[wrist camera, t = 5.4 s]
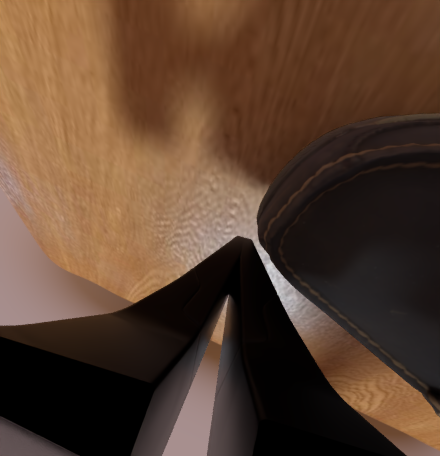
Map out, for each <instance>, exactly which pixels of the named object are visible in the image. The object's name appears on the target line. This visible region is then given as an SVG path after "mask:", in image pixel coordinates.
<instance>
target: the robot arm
mask: <svg viewBox="0 0 440 456" xmlns="http://www.w3.org/2000/svg"><path fill="white" fill-rule="evenodd" d="M228 295H229V297H228ZM227 298H228V305H227V312H226V319H225V327H224V334H223V341H222V350H221V356H220V364H219V371H218V378H217V386H216V393H215V401H214V407H213V415H212V422H211V430H210V437H209V444H208V452H207V456H406V455H405V454H404V453H403V452H402V451H401V450H399V449H398V448H397V447H396V446H395V445H394V444H393V443H392V442H390V441H389V440H388V439H387V438H386V437H385V436H384V435H382V434H381V433H380V432H379V431H378V430H377V429H376V428H374V427H373V426H372V425H371V424H370V423H369V422H368V421H367V420H365V419H364V418H363V417H362V416H361V415H360V414H359V413H358V412H356V411H355V410H354V409H353V408H352V407H351V406H350V405H348V404H347V403H346V402H345V401H344V400H343V399H342V398H341V397H340V396H339V394H338V393H337V392H336V391H335V390H334V388H333V387H332V386H331V385H330V383H329V382H328V380H327V379H326V378H325V376H324V375H323V373H322V371H321V370H320V368H319V367H318V365H317V363H316V362H315V360H314V358H313V357H312V355H311V353H310V352H309V350H308V348H307V347H306V345H305V343H304V342H303V340H302V338H301V337H300V335H299V334H298V332H297V330H296V328H295V327H294V325H293V323H292V321H291V320H290V318H289V316H288V314H287V312H286V310H285V308H284V307H283V305H282V303H281V300H280V298H279V296H278V295H277V292H276V290H275V288H274V286H273V284H272V282H271V279H270V277H269V275H268V273H267V271H266V269H265V267H264V265H263V262H262V260H261V258H260V256H259V254H258V252H257V250H256V248H255V246H254V243H253V241H252V240H251V239H248V238H244V237H240V236H236V237H235V238H234V239H232V240H231V241H230V242H228V243H227V244H225V245H224V246H223V247H221V248H220V249H219V250H217V251H216V252H214V253H213V254H212V255H210V256H209V257H208V258H206V259H205V260H204V261H202V262H201V263H199V264H198V265H197V266H195V267H194V268H192V269H191V270H190V271H188V272H187V273H186V274H184V275H183V276H181V277H180V278H178V279H177V280H175V281H173V282H172V283H170V284H168V285H167V286H165V287H163V288H161V289H160V290H158V291H156V292H154V293H152V294H151V295H149V296H147V297H145V298H144V299H142V300H140V301H138V302H136V303H135V304H133V305H131V306H129V307H127V308H124V309H122V310H119V311H116V312H113V313H109V314H103V315H94V316H87V317H80V318H72V319H65V320H58V321H51V322H42V323H36V324H26V325H16V326H0V456H162V454H163V452H164V449H165V447H166V445H167V442H168V440H169V437H170V435H171V433H172V430H173V428H174V425H175V423H176V421H177V418H178V416H179V413H180V411H181V408H182V406H183V403H184V401H185V399H186V396H187V394H188V391H189V389H190V387H191V384H192V382H193V379H194V377H195V375H196V372H197V370H198V367H199V365H200V362H201V360H202V358H203V355H204V353H205V351H206V348H207V346H208V343H209V341H210V339H211V336H212V334H213V331H214V329H215V327H216V324H217V322H218V319H219V317H220V314H221V312H222V310H223V307H224V305H225V302H226V300H227Z"/></svg>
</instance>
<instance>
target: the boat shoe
mask: <svg viewBox="0 0 440 456" xmlns="http://www.w3.org/2000/svg"><path fill="white" fill-rule="evenodd" d="M257 225H258V238H259V242H260V244H261V246H262V247H263V248H264V250H265V251H266V252H267V253H268V254H269V256H270V259H271V261H272V262H273V264H274V265H275V267H276V268H277V269H278V270H279V271H280V273H281V274H282V275H283V276H284V278H285V279H286V280H287V281H288V282H289V283H290V284H291V285H292V286H293V287H294V288H295V289H297V290H298V291H299V292H300V293H301V294H303V295H304V296H305V297H306V298H307V299H309V300H310V301H311V302H312V303H314V304H315V305H316V306H317V307H318V308H320V309H321V310H322V311H323V312H325V313H326V314H327V315H328V316H329V317H331V318H332V319H333V320H334V321H335V322H337V323H338V324H339V325H340V326H341V327H343V328H344V329H345V330H346V331H347V332H349V333H350V334H351V335H352V336H353V337H354V338H356V339H357V340H358V341H359V342H360V343H362V344H363V345H364V346H365V347H366V348H367V349H369V350H370V351H371V352H372V353H373V354H374V355H375V356H377V357H378V358H379V359H380V360H381V361H382V362H384V363H385V364H386V365H387V366H388V367H390V368H391V369H392V370H393V371H394V372H396V373H397V374H398V375H399V376H400V377H402V378H403V379H404V380H405V381H406V382H408V383H409V384H410V385H411V386H412V387H414V388H415V389H417V390H418V391H419V392H421V393H422V395H423V396H424V398H425V399H426V400H427V401H428V402H429V403H430V405H431V406H432V407H433V409H434V411H435V413H436V414H437V415H438V416H439V417H440V113H434V114H414V115H402V116H385V117H376V118H372V119H368V120H364V121H360V122H356V123H351V124H349V125H345V126H343V127H340V128H337V129H335V130H333V131H331V132H328V133H326V134H325V135H323V136H321V137H320V138H318V139H316V140H315V141H313V142H312V143H311V144H309V145H308V146H307V147H305V148H304V149H303V150H302V151H300V152H299V153H298V154H297V155H296V156H295V157H294V158H293V159H292V160H291V161H290V162H289V163H288V164H287V165H286V166H285V167H284V168H283V169H282V170H281V172H280V173H279V174H278V176H277V177H276V178H275V180H274V181H273V183H272V184H271V185H270V187H269V189H268V191H267V192H266V194H265V195H264V198H263V200H262V202H261V204H260V206H259V210H258V214H257Z"/></svg>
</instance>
